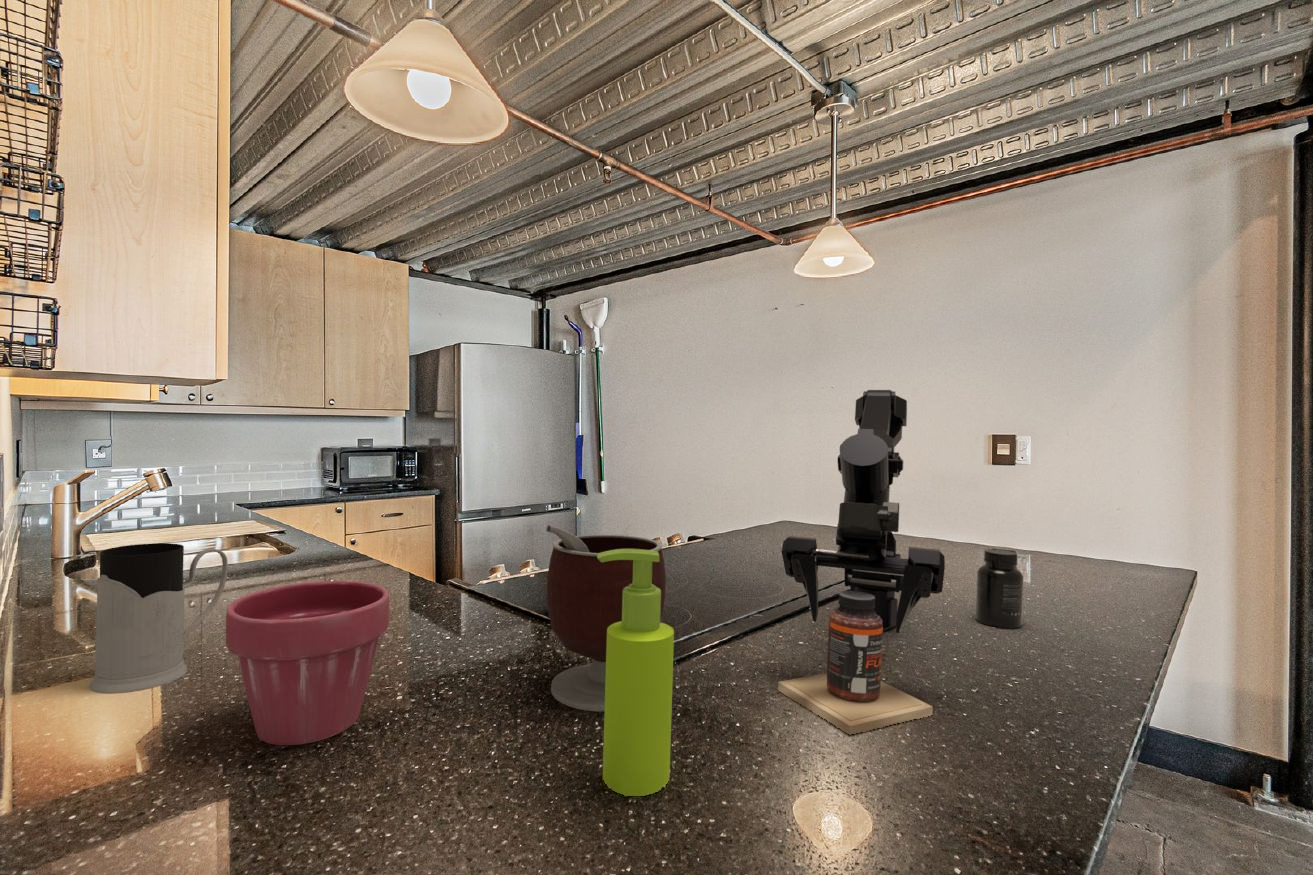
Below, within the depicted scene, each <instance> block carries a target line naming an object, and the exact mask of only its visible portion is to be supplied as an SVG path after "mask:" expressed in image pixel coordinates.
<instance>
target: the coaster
mask: <svg viewBox="0 0 1313 875" xmlns="http://www.w3.org/2000/svg"><path fill="white" fill-rule="evenodd" d="M880 685H881V687H880V694H879V696H878V697H877V698H875V699H873V700H870V701H854V700H849V699H845V698H842V697H839V696H837V695H835V694H833V693H832V692H831V691H830V690H829V689H828V687H827V672H825V673H820V674H815V675H814V674H813V675H809V676H803V677H798V678H791V679H786V680H782V681H778V682H777V691H778V692H780V693H782V694H784V695H785V696H786V697H788V698H789V699H791V700H793V701H794V702H796V703H797V702H798V703H797V704H798V705H800V704H801V705H800V706H802V707H804V706H805V707H806V708H805V707H804V708H805V709H807V710H808V711H810V710H811V711H812V712H811V711H810V712H811V713H813V714H814V715H817V716H818V715H819V716H820V717H819V716H818V717H819V718H821V717H822V718H823V720H824V719H826V720H827V721H828V722H827V721H826V720H825V721H826V722H827V723H829V722H830V723H832V724H833V725H832V724H831V725H832V726H834V725H835V726H836V727H835V726H834V727H835V728H837V729H838V728H840V729H841V730H842V732H843V731H844V732H843V733H845V732H846V733H847V734H846V733H845V734H846V735H848V734H849V735H851V734H855V733H858V732H863V733H867V732H871V731H874V730H873V729H875V730H878V729H877V728H880V729H883V727H884V728H886V727H885V726H888V727H890V726H889V725H892V726H894V725H893V724H896V725H898V724H897V723H900V724H903V723H902V722H904V723H906V722H905V721H908V722H910V721H909V720H912V721H914V720H913V719H917V720H920V718H921V719H924V718H928V716H929V717H932V716H931V715H933V716H934V714H933V712H934V711H933V710H934V709H933V708H934V707H933V705H930V704H928V703H927V702H924V701H922V700H920V699H918V698H916V697H915V696H912V695H910V694H908V693H906V692H905V691H902V690H900V689H898V688H896V687H894V686H892V685H889V684H888V683H886V682H884V681H882V680H881V683H880ZM923 717H924V718H923ZM822 718H821V719H822ZM830 723H829V724H830ZM840 729H839V730H840ZM841 730H840V731H841ZM870 730H871V731H870ZM849 735H848V736H849ZM855 735H856V734H855ZM851 736H852V735H851Z"/></svg>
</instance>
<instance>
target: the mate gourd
mask: <svg viewBox="0 0 1313 875" xmlns="http://www.w3.org/2000/svg"><path fill="white" fill-rule="evenodd" d="M545 530H546V532H547V533H550V534H551V533H552V534H554V535H556V536H557V537H558V538H559V539H557V540H555V541H553V543H552V551H551V555H550V560H549V565H548V570H547V575H546V577H547V578H546V601H547V603H546V604H547V609H548V610H547V612H548V617H549V623H550V626H551V629H552V631H553V633H554V634H555V635H556V637H557V638H558V640H559V641H560V643H562V644H561V645H563V647H564V648H565V649H566V650H568V651H570V652H572V653H575V654H578V655H580V656H584V657H587V658H590V659H592V663H589V664H581V665H578V666H573V667H571V668H568V669H565V670H563V671H561V672H559V673H558V674H556V675H555V676H554V677H553V678H552V680H551V685H550V691H551V696H553V698H554V699H555V700H556V701H558V703H559V702H560V704H562V705H565V706H567V707H570V708H573V709H577V710H582V711H587V710H588V711H589V712H605V680H606V647H607V628H608V627H609V626H610V625H612V624H614V623H617V622H620V621H622V593H623V589H624V588H625V587H627V586H628V585H630V584H632V581H633V560H612V561H607V562H600V561H599V560H598V559H597V554H598V553H602V552H605V551H610V550H616V549H643V550H652V551H658V553H659V562H653V561H652V584H653V585H655V586H656V587H657V588H659V589H660V590H661V610H660V622H662V621H661V620H662V618H663V613H664V606H665V601H666V585H667V583H666V582H667V581H666V580H667V579H666V577H667V576H666V567H665V566H666V565H665V559H664V553H663V550H662V548H663V544H662V543H661V542H660V541H657V540H654V539H650V538H647V537H641V536H640V537H639V536H632V535H622V534H621V535H619V534H587V535H586V534H583V535H574V534H573V533H571V532H570V531H569V532H568V531H567V530H565V529H562V528H561V527H557V526H554V525H552V524H548V525H547V526H546V529H545ZM588 711H587V712H588Z"/></svg>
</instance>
